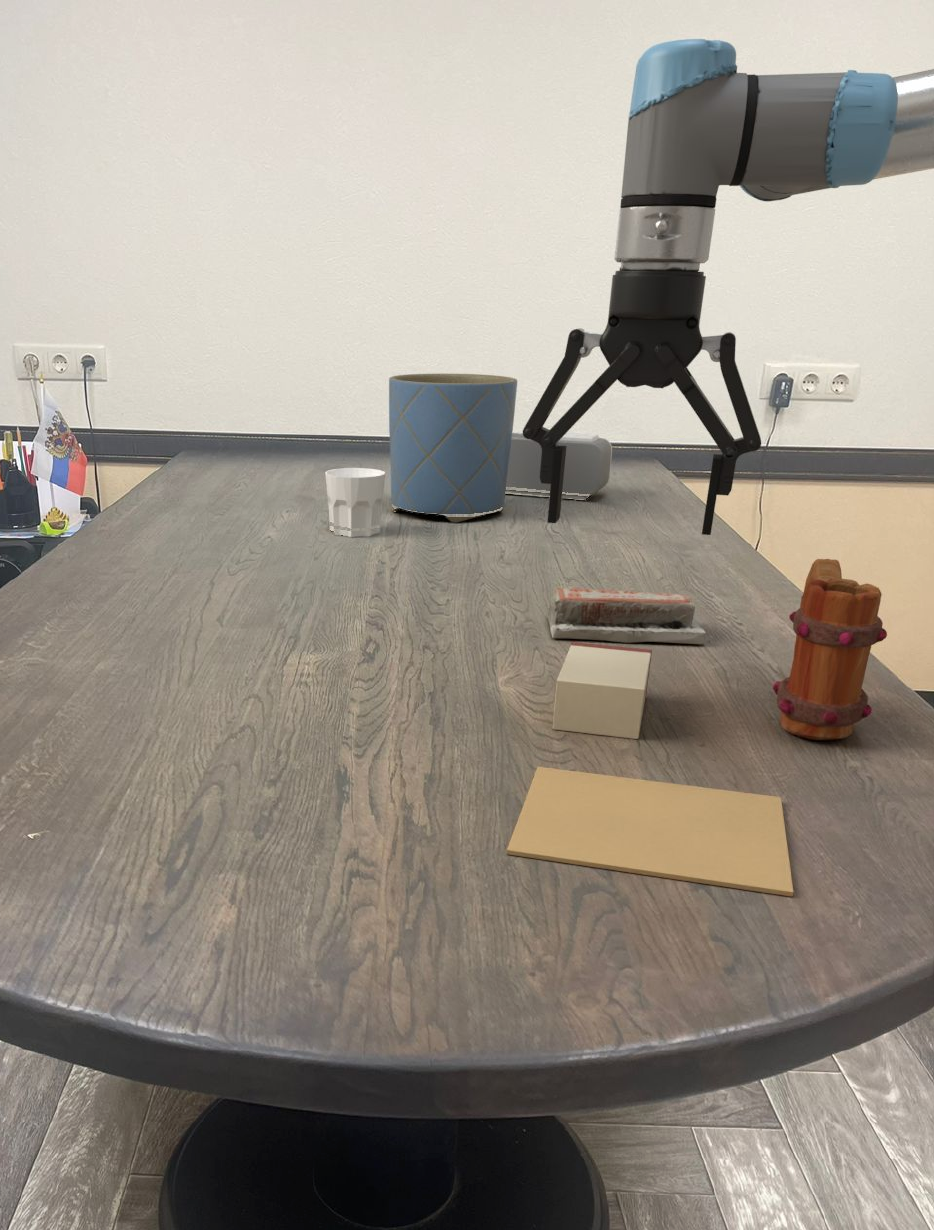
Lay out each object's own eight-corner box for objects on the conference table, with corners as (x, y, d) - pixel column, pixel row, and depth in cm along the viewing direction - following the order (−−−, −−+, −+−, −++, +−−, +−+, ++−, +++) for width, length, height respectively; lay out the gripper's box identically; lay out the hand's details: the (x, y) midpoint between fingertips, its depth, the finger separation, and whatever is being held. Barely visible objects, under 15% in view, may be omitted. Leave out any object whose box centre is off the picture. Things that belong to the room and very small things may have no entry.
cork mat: (780, 801, 89) (781, 797, 88) (792, 897, 75) (793, 892, 75) (537, 770, 94) (537, 766, 94) (506, 854, 80) (506, 849, 80)
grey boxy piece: (553, 600, 126) (549, 580, 135) (550, 640, 128) (546, 617, 137) (711, 606, 125) (696, 585, 134) (705, 646, 127) (690, 622, 136)
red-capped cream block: (646, 696, 111) (652, 649, 109) (638, 740, 100) (645, 688, 98) (566, 688, 113) (571, 641, 111) (551, 730, 103) (556, 679, 100)
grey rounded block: (607, 495, 218) (614, 434, 213) (597, 502, 210) (604, 439, 205) (478, 485, 228) (482, 426, 223) (464, 492, 220) (467, 431, 215)
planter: (361, 512, 200) (362, 378, 190) (434, 496, 215) (439, 371, 206) (461, 529, 186) (469, 386, 176) (531, 511, 202) (542, 378, 192)
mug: (872, 754, 98) (909, 592, 91) (778, 747, 99) (808, 587, 93) (836, 699, 111) (866, 554, 104) (753, 694, 112) (778, 550, 106)
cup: (391, 536, 181) (392, 476, 176) (333, 539, 178) (333, 478, 174) (375, 525, 189) (376, 467, 185) (319, 527, 187) (319, 469, 183)
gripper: (502, 265, 89) (485, 523, 98) (824, 268, 82) (775, 545, 91) (518, 267, 96) (500, 508, 105) (818, 270, 89) (772, 528, 98)
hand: (628, 526), depth 98 cm, fingers open, 13 cm apart
